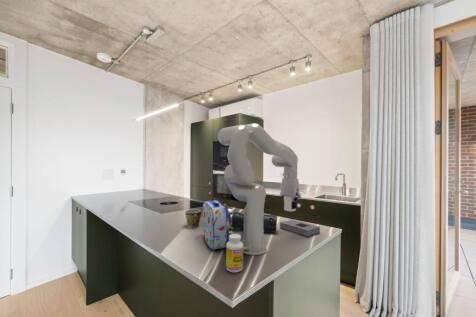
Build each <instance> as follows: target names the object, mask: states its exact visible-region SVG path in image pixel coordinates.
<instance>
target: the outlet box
mask: <svg viewBox="0 0 476 317" xmlns="http://www.w3.org/2000/svg"><path fill="white" fill-rule="evenodd" d="M279 229H281V230H283V231H286V232H289V233H291V234H295V235H297V236H301V237H304V238H311V237H314V236H317V235H319V234H321V226H319V225H315V224H311V223H307V222H303V221H300V220H296V219H293V218H292V219H287V220H284V221H280V222H279Z"/></svg>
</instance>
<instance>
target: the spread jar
mask: <svg viewBox="0 0 476 317" xmlns="http://www.w3.org/2000/svg"><path fill="white" fill-rule="evenodd" d="M228 211H229V219H230V215H231V213H233V209H231V208H228ZM233 229H234V228H233V227H231V226H230V224H229V231H231V230H233Z"/></svg>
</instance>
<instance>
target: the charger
mask: <svg viewBox="0 0 476 317" xmlns="http://www.w3.org/2000/svg"><path fill="white" fill-rule="evenodd" d="M294 199H295V198H294ZM292 202H293V201H292V197H290V196H284V200H283V210H284V211H285V212H295V211H296V210H297V208H296V209H292Z"/></svg>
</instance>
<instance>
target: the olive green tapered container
mask: <svg viewBox="0 0 476 317" xmlns="http://www.w3.org/2000/svg"><path fill="white" fill-rule="evenodd" d="M184 214H185V218H186V224H187V227H188V228H189V229H198V227H199V226H200V219H201V217H202V209H187V210H185V213H184Z"/></svg>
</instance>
